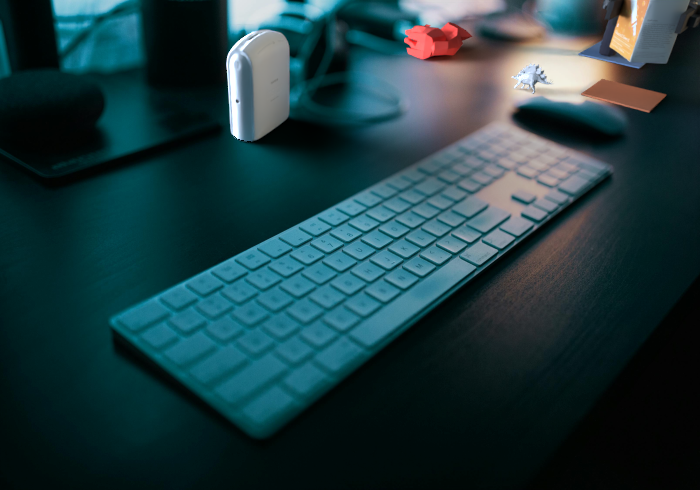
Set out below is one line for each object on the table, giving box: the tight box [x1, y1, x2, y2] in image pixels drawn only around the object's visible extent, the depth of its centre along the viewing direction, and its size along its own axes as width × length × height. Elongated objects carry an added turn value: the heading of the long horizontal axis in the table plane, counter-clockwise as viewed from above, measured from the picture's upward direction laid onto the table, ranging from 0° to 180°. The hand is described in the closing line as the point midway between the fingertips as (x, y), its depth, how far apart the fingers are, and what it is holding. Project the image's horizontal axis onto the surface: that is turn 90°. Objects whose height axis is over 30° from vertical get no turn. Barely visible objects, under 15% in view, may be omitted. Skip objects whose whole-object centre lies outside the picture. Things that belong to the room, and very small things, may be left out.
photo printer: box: [226, 29, 290, 142], centre depth 74 cm, size 10×4×12 cm, turn 157°
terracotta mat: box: [580, 78, 667, 114], centre depth 98 cm, size 11×11×1 cm
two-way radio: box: [599, 15, 619, 57], centre depth 115 cm, size 6×4×15 cm
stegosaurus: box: [511, 63, 554, 94], centre depth 96 cm, size 2×7×5 cm, turn 60°
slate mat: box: [578, 40, 647, 70], centre depth 122 cm, size 12×19×1 cm, turn 143°
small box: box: [610, 0, 690, 64], centre depth 91 cm, size 8×6×13 cm
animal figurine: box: [403, 21, 473, 60], centre depth 112 cm, size 12×15×5 cm
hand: (644, 17), depth 88 cm, fingers closed on small box, 10 cm apart
